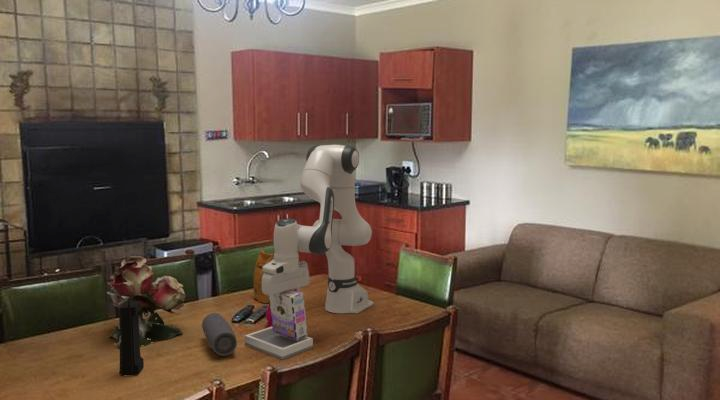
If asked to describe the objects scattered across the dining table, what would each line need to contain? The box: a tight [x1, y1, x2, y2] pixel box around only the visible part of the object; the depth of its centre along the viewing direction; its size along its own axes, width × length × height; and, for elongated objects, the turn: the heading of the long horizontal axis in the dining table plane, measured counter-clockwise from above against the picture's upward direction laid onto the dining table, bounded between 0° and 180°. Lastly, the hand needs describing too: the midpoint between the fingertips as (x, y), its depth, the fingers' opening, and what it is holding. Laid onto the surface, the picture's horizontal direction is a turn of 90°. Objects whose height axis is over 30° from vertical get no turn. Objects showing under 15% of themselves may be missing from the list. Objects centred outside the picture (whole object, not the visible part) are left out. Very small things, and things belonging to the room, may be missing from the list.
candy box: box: [268, 289, 309, 340], centre depth 222 cm, size 14×6×16 cm, turn 46°
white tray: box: [244, 327, 314, 361], centre depth 220 cm, size 14×20×4 cm
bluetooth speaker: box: [201, 312, 238, 357], centre depth 218 cm, size 23×9×10 cm, turn 23°
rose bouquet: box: [105, 255, 187, 349], centre depth 231 cm, size 26×29×30 cm
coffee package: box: [253, 249, 274, 304], centre depth 275 cm, size 10×12×22 cm
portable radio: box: [118, 299, 145, 377], centre depth 197 cm, size 8×6×25 cm
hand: (286, 301), depth 221 cm, fingers open, 6 cm apart
